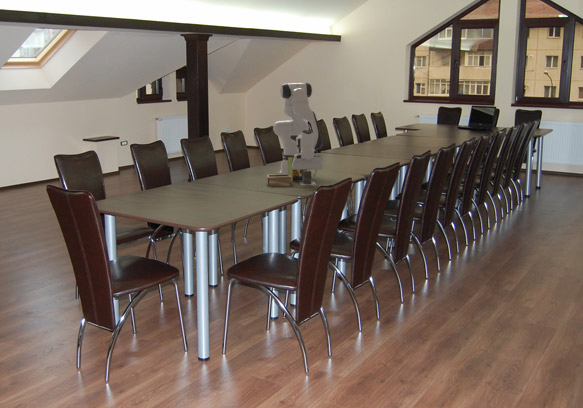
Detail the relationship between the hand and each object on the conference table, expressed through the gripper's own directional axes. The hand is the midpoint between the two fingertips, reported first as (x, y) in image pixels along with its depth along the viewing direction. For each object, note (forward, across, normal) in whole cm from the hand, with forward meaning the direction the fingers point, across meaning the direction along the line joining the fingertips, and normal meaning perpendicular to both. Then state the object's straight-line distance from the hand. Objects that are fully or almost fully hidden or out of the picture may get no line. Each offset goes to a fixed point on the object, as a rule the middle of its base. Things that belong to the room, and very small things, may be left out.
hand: (307, 176), depth 429 cm
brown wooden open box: (+6, +19, 0) cm, 20 cm away
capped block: (+5, 0, 0) cm, 5 cm away
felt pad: (+6, 0, 0) cm, 6 cm away
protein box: (+6, +5, -19) cm, 21 cm away
